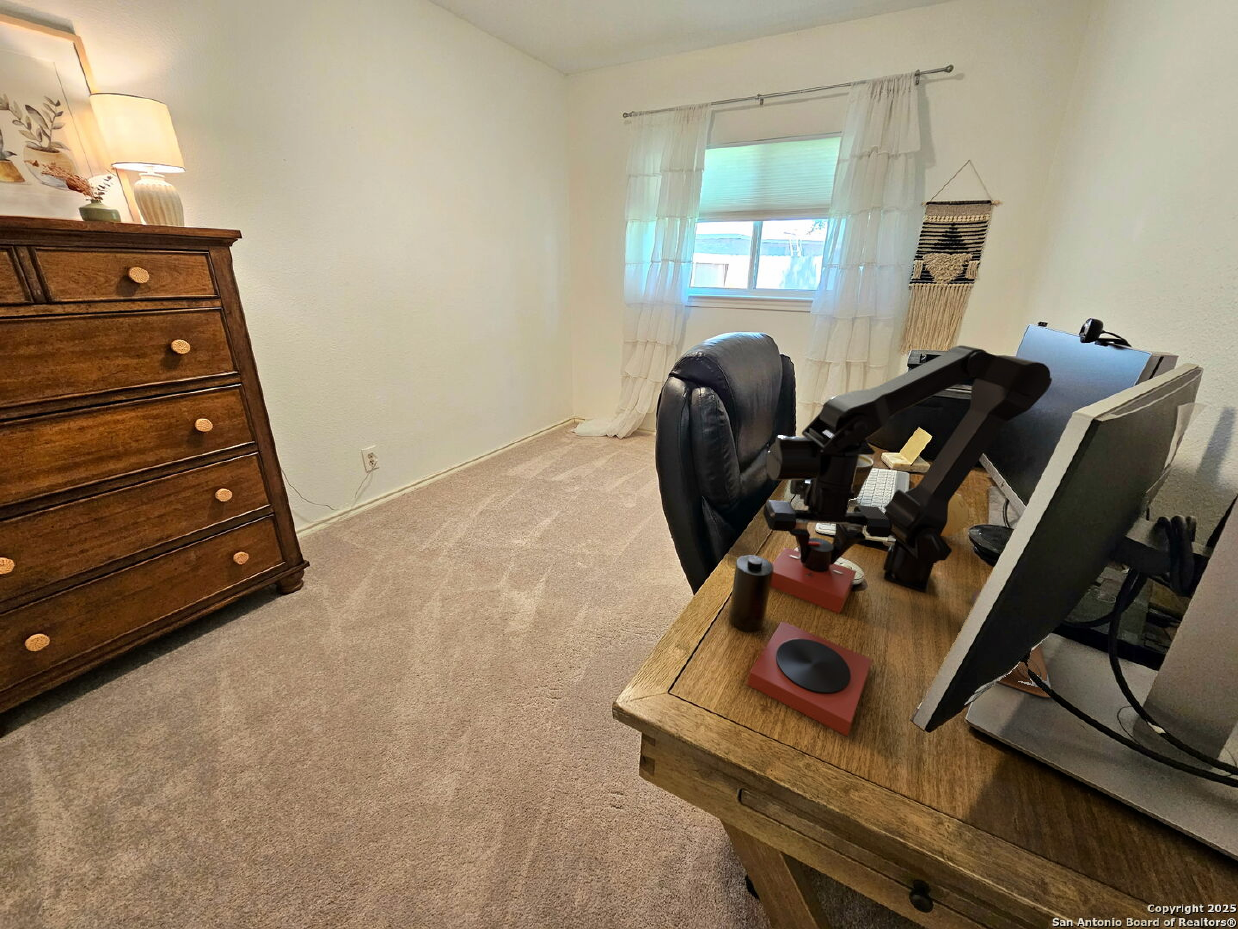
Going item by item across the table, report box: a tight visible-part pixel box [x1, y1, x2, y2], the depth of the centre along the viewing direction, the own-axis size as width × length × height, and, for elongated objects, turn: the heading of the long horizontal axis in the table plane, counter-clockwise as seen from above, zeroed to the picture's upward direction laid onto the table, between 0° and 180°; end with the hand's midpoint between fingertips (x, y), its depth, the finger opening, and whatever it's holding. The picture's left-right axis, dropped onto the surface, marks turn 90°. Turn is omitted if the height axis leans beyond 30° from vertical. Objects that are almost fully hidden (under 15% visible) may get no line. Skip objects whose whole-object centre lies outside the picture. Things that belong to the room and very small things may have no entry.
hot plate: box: [747, 620, 873, 737], centre depth 62 cm, size 12×12×2 cm
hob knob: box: [802, 537, 834, 572], centre depth 81 cm, size 4×4×4 cm
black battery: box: [728, 554, 773, 633], centre depth 71 cm, size 5×5×11 cm
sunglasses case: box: [971, 588, 1053, 699], centre depth 69 cm, size 18×7×7 cm
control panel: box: [770, 546, 857, 614], centre depth 81 cm, size 12×11×3 cm
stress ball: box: [941, 491, 970, 537], centre depth 97 cm, size 10×10×10 cm
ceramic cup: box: [848, 455, 875, 505], centre depth 110 cm, size 13×10×10 cm
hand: (816, 562), depth 82 cm, fingers closed on hob knob, 4 cm apart
